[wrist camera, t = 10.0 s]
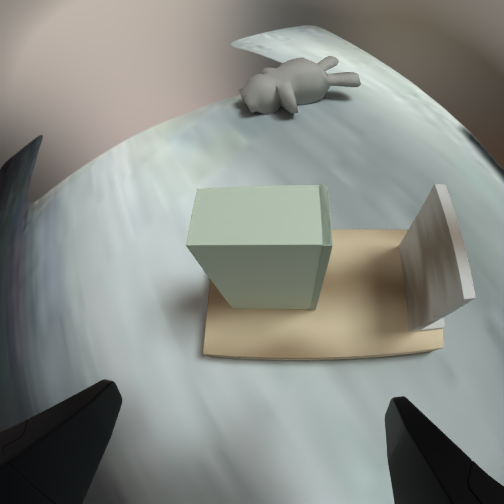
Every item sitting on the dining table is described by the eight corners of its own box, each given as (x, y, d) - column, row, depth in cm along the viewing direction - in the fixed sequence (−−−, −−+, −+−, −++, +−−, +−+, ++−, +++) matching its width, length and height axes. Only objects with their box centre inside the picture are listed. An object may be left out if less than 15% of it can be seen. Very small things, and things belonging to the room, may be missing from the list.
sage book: (315, 310, 20) (332, 245, 11) (231, 308, 21) (185, 246, 12) (315, 269, 21) (327, 184, 13) (235, 269, 22) (197, 188, 13)
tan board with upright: (432, 351, 19) (507, 321, 10) (210, 356, 22) (153, 333, 13) (418, 241, 23) (463, 169, 14) (221, 242, 26) (186, 167, 17)
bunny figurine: (229, 72, 33) (327, 41, 32) (239, 99, 37) (330, 69, 36) (252, 104, 29) (367, 69, 27) (263, 136, 33) (366, 100, 32)
